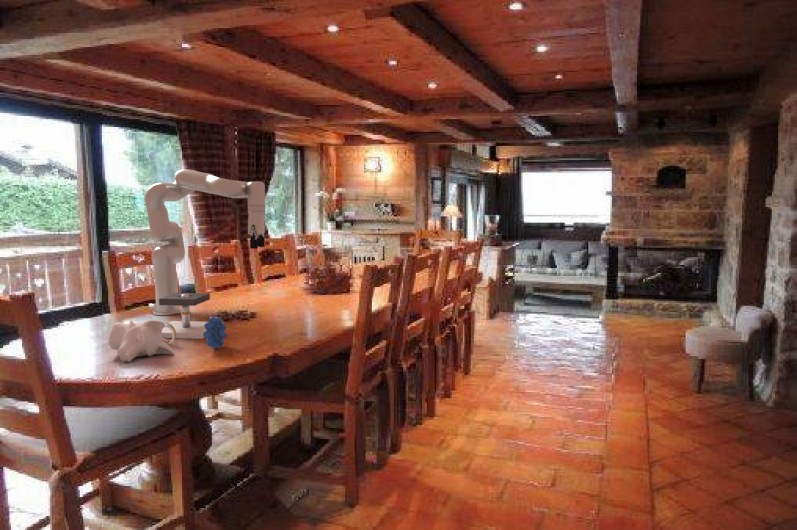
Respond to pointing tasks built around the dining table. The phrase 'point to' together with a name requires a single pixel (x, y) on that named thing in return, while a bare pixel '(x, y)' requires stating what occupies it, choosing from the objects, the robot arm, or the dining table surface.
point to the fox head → (138, 339)
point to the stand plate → (185, 330)
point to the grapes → (215, 332)
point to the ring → (172, 333)
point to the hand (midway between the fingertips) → (257, 247)
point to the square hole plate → (184, 299)
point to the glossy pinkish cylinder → (185, 314)
